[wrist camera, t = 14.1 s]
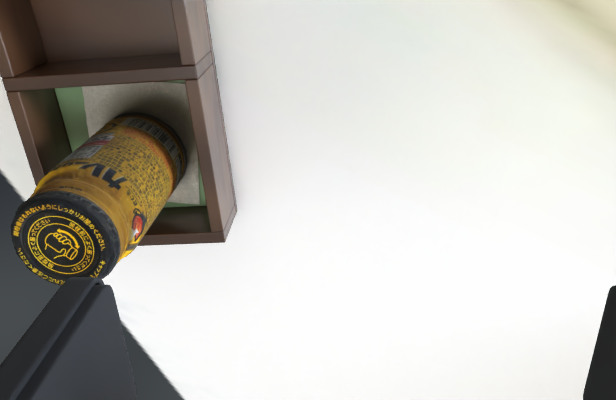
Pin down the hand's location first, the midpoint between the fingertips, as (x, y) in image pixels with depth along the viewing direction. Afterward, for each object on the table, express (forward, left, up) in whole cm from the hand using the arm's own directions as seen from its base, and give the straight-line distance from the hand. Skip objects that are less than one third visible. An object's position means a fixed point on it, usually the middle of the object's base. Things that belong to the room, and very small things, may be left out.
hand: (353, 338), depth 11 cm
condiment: (+5, -14, -26) cm, 30 cm away
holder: (0, -14, -27) cm, 30 cm away
